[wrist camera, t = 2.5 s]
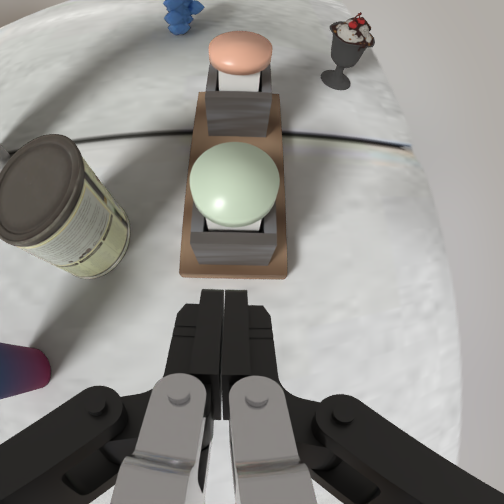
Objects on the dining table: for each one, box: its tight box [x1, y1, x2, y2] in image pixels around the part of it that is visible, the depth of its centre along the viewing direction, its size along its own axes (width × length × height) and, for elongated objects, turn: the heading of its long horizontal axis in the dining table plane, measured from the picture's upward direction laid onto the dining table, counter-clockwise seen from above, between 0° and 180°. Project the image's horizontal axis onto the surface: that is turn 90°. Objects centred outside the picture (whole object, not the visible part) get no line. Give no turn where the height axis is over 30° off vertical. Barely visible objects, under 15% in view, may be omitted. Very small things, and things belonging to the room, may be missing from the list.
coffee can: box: [0, 134, 130, 279], centre depth 27 cm, size 10×10×14 cm
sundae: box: [321, 12, 375, 90], centre depth 36 cm, size 7×7×15 cm
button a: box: [190, 142, 280, 233], centre depth 25 cm, size 6×6×8 cm
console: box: [179, 63, 287, 279], centre depth 32 cm, size 25×11×9 cm, turn 0°
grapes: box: [163, 0, 204, 35], centre depth 39 cm, size 12×7×12 cm, turn 177°
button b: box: [209, 31, 272, 92], centre depth 30 cm, size 6×6×8 cm
